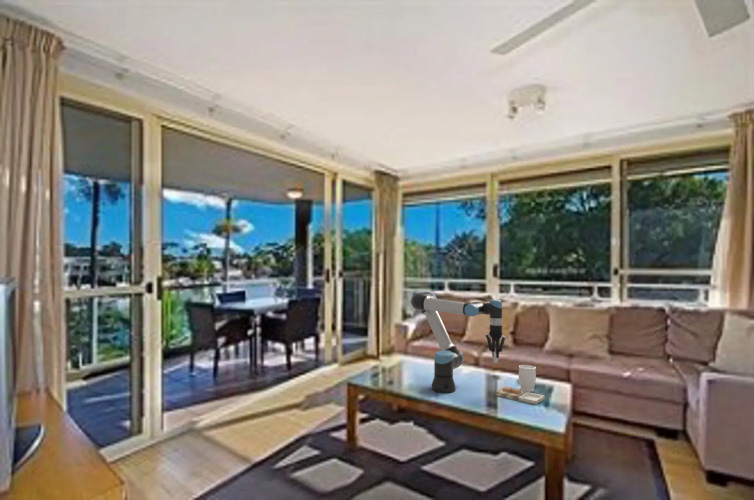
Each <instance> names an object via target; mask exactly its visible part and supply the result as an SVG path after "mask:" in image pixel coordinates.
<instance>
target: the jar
mask: <svg viewBox="0 0 754 500" xmlns="http://www.w3.org/2000/svg"><path fill="white" fill-rule="evenodd" d="M518 368H519V370H518V381H519V382H518V383H519V385H520V388H519V389H521V391H525V392H526V393H527V392H530V393H534V392H535V389H534V388H535V385H536V382H537V372H536V370H537V368H536V366H535V365H529V364H521V365H519V366H518Z"/></svg>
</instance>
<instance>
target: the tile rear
mask: <svg viewBox="0 0 754 500" xmlns="http://www.w3.org/2000/svg"><path fill="white" fill-rule="evenodd" d="M502 388H503V391H505V392H511V389H513V388H514V387H510V386H503V387H502Z"/></svg>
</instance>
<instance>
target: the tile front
mask: <svg viewBox="0 0 754 500" xmlns="http://www.w3.org/2000/svg"><path fill="white" fill-rule="evenodd" d="M512 388H513V389H511V393H515V394H519V393H521V391H522V390H521V389H520V388H515V387H512Z"/></svg>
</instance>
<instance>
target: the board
mask: <svg viewBox="0 0 754 500" xmlns="http://www.w3.org/2000/svg"><path fill="white" fill-rule="evenodd" d="M503 388H504V387H502V388H499V389H497V390H496V391H495V397H501V398H506V399H510V400H514V401H518V397H519V396H521V395H523V394H525V393H527V392H525V391H522V390H521V393H519V394H515V393H511V392H505V391H503Z"/></svg>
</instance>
